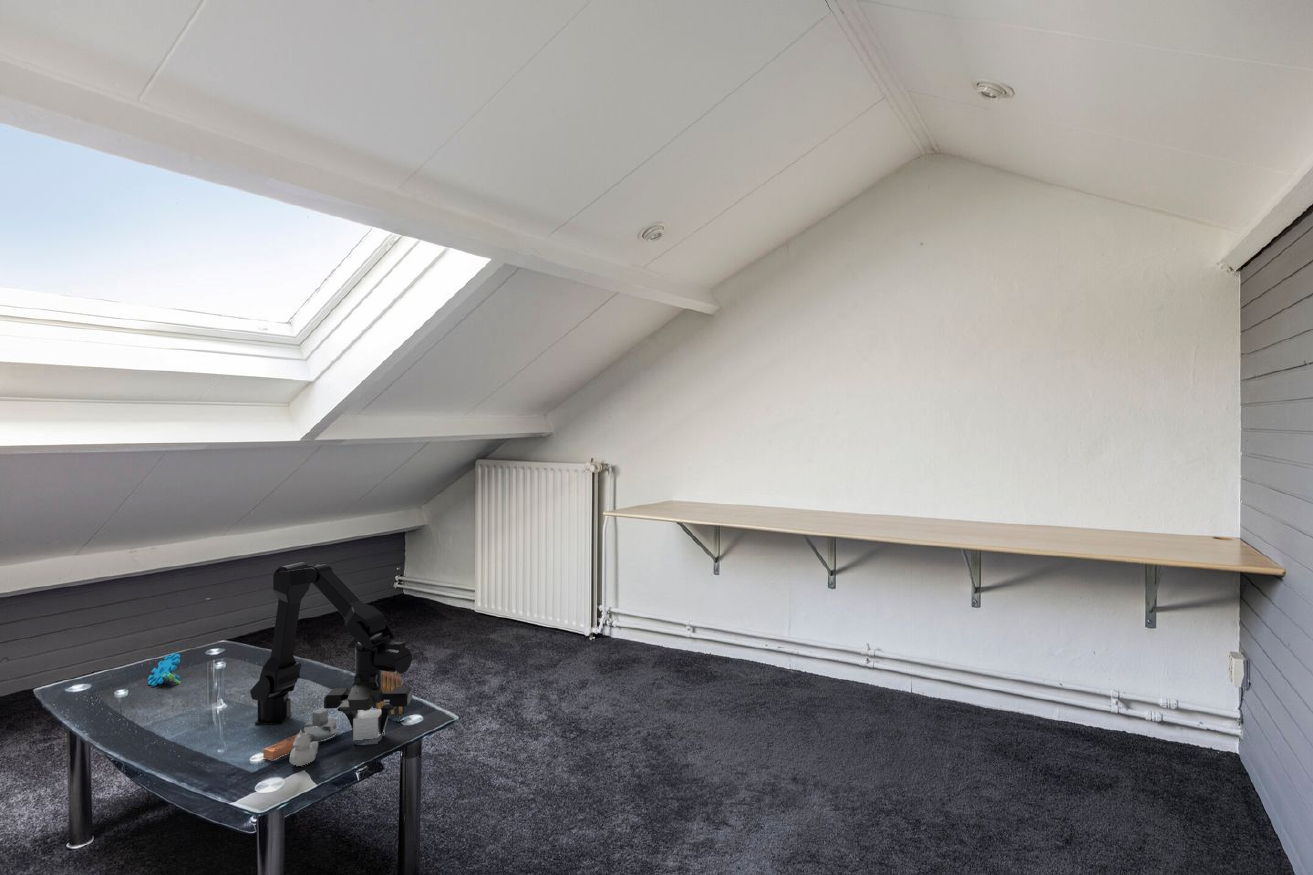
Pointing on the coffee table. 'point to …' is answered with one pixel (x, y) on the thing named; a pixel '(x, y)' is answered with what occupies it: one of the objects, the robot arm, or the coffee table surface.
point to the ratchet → (314, 729)
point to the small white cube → (367, 724)
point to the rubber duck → (303, 750)
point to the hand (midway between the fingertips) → (369, 733)
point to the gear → (165, 670)
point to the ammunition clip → (390, 690)
